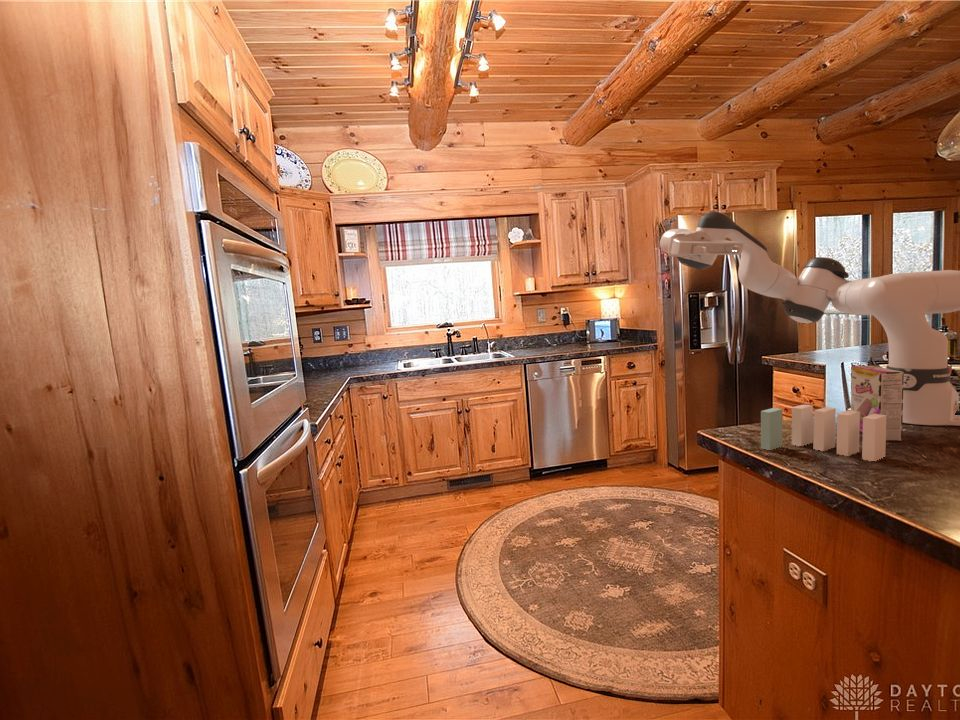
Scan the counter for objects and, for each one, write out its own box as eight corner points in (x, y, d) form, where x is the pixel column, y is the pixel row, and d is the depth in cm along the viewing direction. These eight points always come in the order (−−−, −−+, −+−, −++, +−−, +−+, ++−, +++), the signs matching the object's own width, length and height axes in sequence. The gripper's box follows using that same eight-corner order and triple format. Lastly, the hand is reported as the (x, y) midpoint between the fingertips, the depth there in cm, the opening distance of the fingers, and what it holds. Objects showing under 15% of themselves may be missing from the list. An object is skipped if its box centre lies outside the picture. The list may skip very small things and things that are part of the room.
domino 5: (873, 454, 94) (874, 413, 93) (885, 457, 93) (886, 415, 92) (862, 459, 92) (863, 417, 91) (874, 462, 90) (875, 419, 89)
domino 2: (803, 441, 106) (803, 404, 105) (812, 442, 105) (813, 405, 104) (791, 444, 104) (791, 407, 103) (801, 446, 102) (801, 408, 101)
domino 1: (773, 444, 105) (773, 407, 104) (782, 446, 103) (782, 409, 102) (760, 449, 103) (760, 411, 102) (769, 451, 101) (769, 412, 100)
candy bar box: (848, 429, 113) (849, 365, 112) (871, 428, 112) (872, 365, 111) (878, 441, 102) (880, 371, 101) (903, 441, 101) (905, 371, 100)
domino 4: (848, 449, 98) (848, 410, 97) (859, 451, 97) (859, 411, 96) (836, 454, 96) (837, 413, 95) (847, 456, 94) (848, 415, 93)
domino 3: (824, 445, 102) (825, 407, 101) (834, 447, 101) (835, 408, 100) (813, 449, 100) (813, 410, 99) (823, 451, 98) (824, 412, 97)
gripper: (723, 255, 139) (754, 261, 127) (662, 255, 137) (688, 262, 124) (727, 235, 137) (759, 239, 124) (666, 234, 135) (692, 239, 122)
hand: (723, 250), depth 124 cm, fingers open, 8 cm apart
